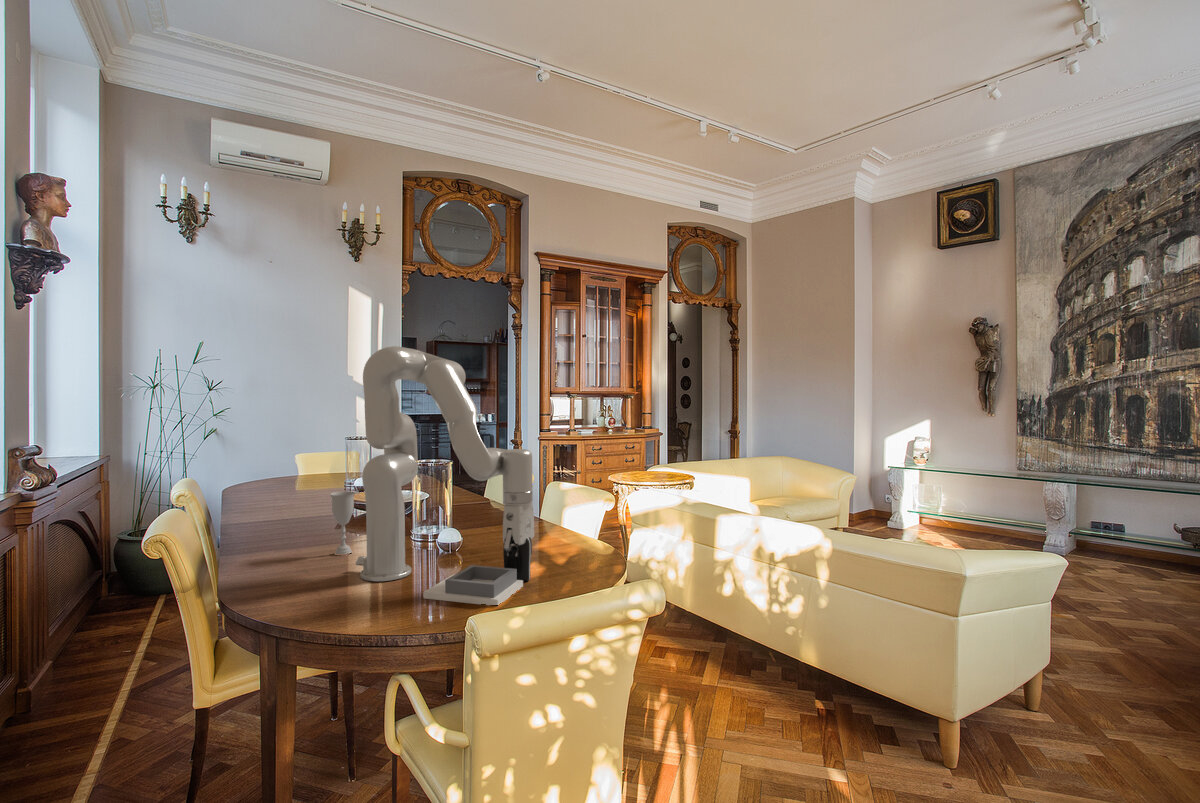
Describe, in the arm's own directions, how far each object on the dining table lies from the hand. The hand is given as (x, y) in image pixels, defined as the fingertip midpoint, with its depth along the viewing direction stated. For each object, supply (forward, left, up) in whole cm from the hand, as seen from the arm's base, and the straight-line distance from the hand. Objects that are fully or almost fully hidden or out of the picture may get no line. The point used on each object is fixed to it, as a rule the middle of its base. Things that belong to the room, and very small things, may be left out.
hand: (518, 568), depth 153 cm
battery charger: (0, 0, -3) cm, 3 cm away
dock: (-6, -12, -3) cm, 14 cm away
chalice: (-60, +8, -3) cm, 61 cm away
